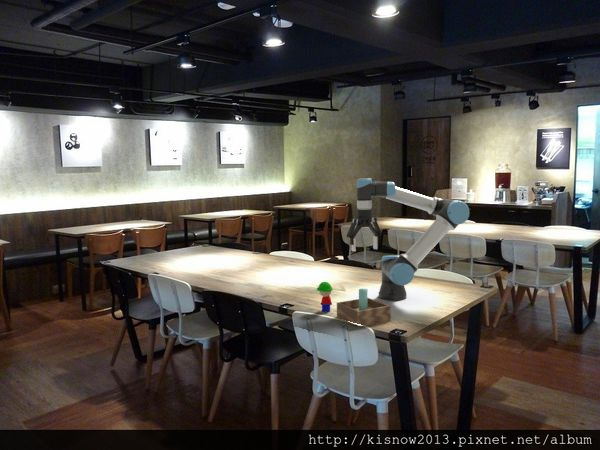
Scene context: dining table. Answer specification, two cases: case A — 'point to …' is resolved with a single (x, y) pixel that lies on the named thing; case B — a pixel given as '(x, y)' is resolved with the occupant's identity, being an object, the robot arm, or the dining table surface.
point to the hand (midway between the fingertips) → (364, 250)
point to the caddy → (364, 312)
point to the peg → (362, 299)
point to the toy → (325, 295)
